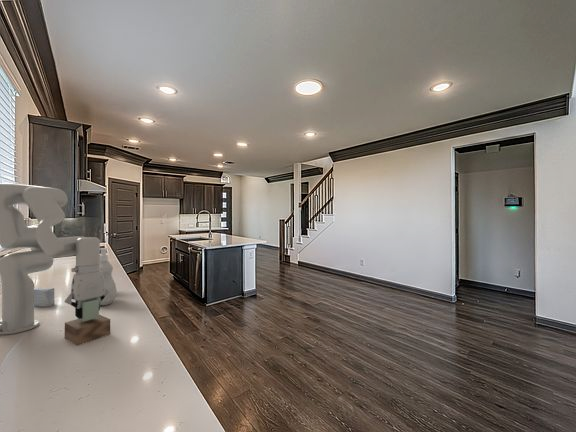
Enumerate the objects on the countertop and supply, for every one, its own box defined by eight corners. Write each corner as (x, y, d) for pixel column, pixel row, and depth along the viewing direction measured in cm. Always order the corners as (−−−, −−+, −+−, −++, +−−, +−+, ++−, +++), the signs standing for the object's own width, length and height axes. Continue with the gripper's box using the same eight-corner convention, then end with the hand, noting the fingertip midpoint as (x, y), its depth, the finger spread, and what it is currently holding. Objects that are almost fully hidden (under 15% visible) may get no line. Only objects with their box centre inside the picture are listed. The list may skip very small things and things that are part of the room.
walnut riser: (77, 345, 97) (77, 329, 97) (64, 338, 103) (64, 322, 103) (110, 334, 106) (110, 319, 106) (96, 327, 112) (97, 313, 112)
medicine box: (54, 304, 140) (54, 287, 140) (46, 307, 136) (46, 290, 136) (41, 303, 141) (41, 287, 141) (32, 306, 137) (32, 289, 137)
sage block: (84, 321, 101) (84, 302, 101) (77, 318, 104) (77, 300, 104) (98, 317, 105) (98, 299, 105) (91, 314, 108) (91, 296, 108)
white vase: (86, 302, 144) (86, 247, 144) (111, 297, 153) (111, 246, 152) (93, 310, 133) (94, 251, 132) (120, 304, 141) (120, 248, 141)
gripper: (65, 274, 95) (65, 325, 95) (116, 266, 110) (116, 310, 110) (56, 271, 99) (56, 320, 99) (107, 264, 114) (107, 307, 114)
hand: (87, 314), depth 105 cm, fingers closed on sage block, 5 cm apart
